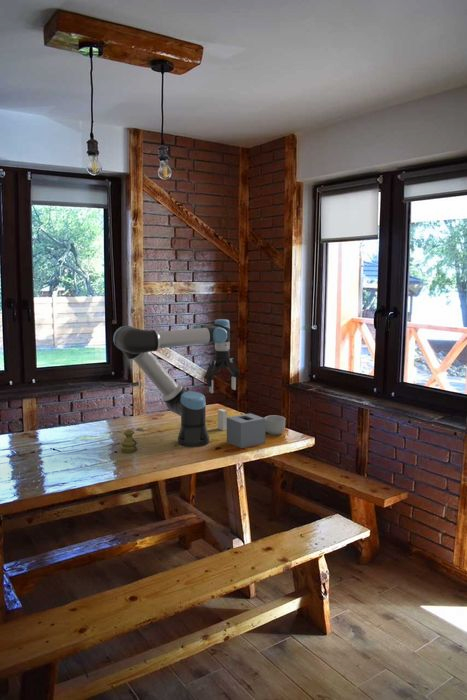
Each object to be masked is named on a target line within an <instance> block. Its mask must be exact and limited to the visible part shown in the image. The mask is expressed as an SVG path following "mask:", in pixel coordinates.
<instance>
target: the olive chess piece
mask: <svg viewBox="0 0 467 700" xmlns="http://www.w3.org/2000/svg"><path fill="white" fill-rule="evenodd" d="M122 434H123V435H125V438H124V439H123V440H121V441H120V445H121V446H120V452H121V453H123V454H135V453H137V452H138V440H136V439H135V438H134V437H133V435H134V434H135V431H134V430H132V429H131V428H130V429H126V430H124V431H123V432H122Z"/></svg>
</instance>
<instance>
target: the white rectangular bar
mask: <svg viewBox="0 0 467 700" xmlns="http://www.w3.org/2000/svg"><path fill="white" fill-rule="evenodd" d="M227 417H228V410H226V409H223V408H219V409H217V429H218V430H221V431H227Z"/></svg>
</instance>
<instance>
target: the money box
mask: <svg viewBox="0 0 467 700" xmlns="http://www.w3.org/2000/svg"><path fill="white" fill-rule="evenodd" d="M226 442H227V443H228V444H231V445H233V446H235V447H237V448H240V449H245V448H248V447H249V448H250V447H253V446H259V445H263V444H266V430H265V417H262V416H259V415H256V414H254V413H251V412H250V413H246V414H245V413H244V414H239V415H233V416H227V430H226Z"/></svg>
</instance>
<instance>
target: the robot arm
mask: <svg viewBox="0 0 467 700" xmlns="http://www.w3.org/2000/svg"><path fill="white" fill-rule="evenodd" d="M230 326H231V325H230V320H229V319H225V318H222V319H221V318H220V319H215V320H214V322H213V323H209V324H195V325H193V327H192V328H187V329H186V328H185V329H178V330H177V329H176V330H175V329H174V330H166V331H165V330H164V331H163V330H162V331H157V330H155V329H141V328H137V327H134V326H131V325H124V326H119V328H117V329H116V330H115V332H114V333H113V338H112V339H113V340H112V342H113V344H114V346H115V347H116V349H118V350H120V351H121V352H122V353H123V355H125V357H126V358H127V359H128V360H129V361H130V360H131V361H132V360H133V361H134V362H135V363H136V364H137V366H138V367H139V368H140V369H141V370H142V371H143V374H145V375H146V376H147V377H148V379H149V380H150V381H151V383H153V385H154V386H155V387H156V388H157V389H158V391H160V393H161V394H162V400H163V401H164V402H165V405H166V407H167V408H168V410H169V411H170V412H172V413H173V414H177V415H178V416H180V429H179V432H178V436H177V444H178V445H180V446H183V447H191V448H192V447H203V446H206V445H208V444H210V435H209V433H208V429H207V425H206V423H207V422H206V412H207V411H206V405H207V403H206V396H205V395H204V394H203V393H201V392H197V391H187V389H186V388H185V387H184V386H183V384H182V383H180V382H179V383H177V382H176V381H175V379H174V378H173V377H172V376H171V374H169V372H168V371H167V369H166V368H165V367H164V366H163V365H162V364H161V362H160V361H159V360H158V359H157V358H156V356H155V355H154V354H153V353H152V352H157V351H158V350H159V349H165V348H177V347H185V346H186V347H187V346H193V345H194V346H195V345H203V344H205V345H206V344H214V349H215V351H214V357H215V359H214V360H212V359H210V360H209V365H208V367H207V370H206V372H205V375H204V378H203V379H205V380H207V386H208V392H209V393H210V394H213V393H214V377H215V375H216V374H217V372H218V371H219V370H221V369H227V370H228V372H229V373H230V374H231V375H232V376H231V390H234V391H236V390H237V389H236V387H237V386H236V385H237V383H238V378H239V376H241V373H240V371H239V368H238V366H237V363H236V359H235V358H233V357H230V356H231V354H230V353H231V351H230V347H231V346H230V344H231V343H230V338H231V337H230V336H231V335H230V334H231V332H230V330H231V327H230Z"/></svg>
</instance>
